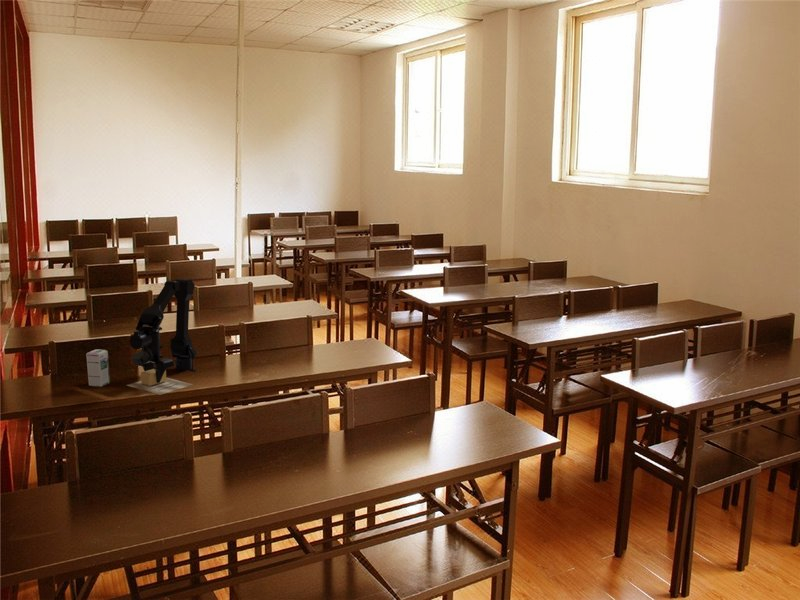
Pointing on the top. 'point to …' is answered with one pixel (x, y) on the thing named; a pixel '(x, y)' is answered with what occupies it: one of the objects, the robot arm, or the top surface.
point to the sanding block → (151, 377)
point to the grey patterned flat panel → (161, 386)
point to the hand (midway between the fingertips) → (154, 381)
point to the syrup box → (98, 367)
